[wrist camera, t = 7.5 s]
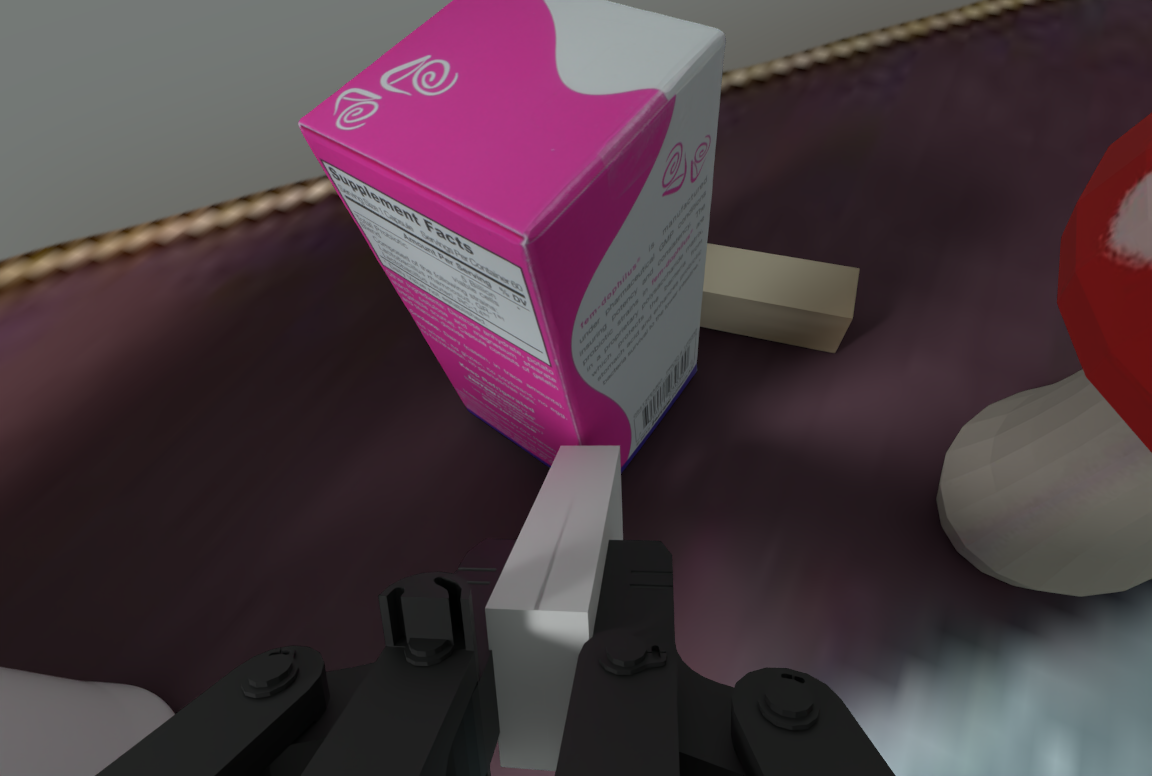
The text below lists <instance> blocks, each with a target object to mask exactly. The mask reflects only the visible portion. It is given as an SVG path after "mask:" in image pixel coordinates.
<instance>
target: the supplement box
mask: <svg viewBox="0 0 1152 776" xmlns="http://www.w3.org/2000/svg"><path fill="white" fill-rule="evenodd" d="M725 44H726V38H725V34H724V33H723V32H722V31H721V30H719V29H717V28H714V27H710V26H706V25H702V24H699V23H695V22H690V21H686V20H682V19H678V18H674V17H670V16H666V15H662V14H659V13H655V12H650V11H646V10H642V9H637V8H634V7H630V6H626V5H623V4H618V3H614V2H610V1H607V0H453V1H452V2H451V3H449V4H448V5H447V6H445V7H444V8H443V9H441V10H440V11H439V12H438V13H437V14H435V15H434V16H433V17H431V18H430V19H429V20H428V21H426V22H425V23H424V24H422V25H421V26H420V27H418V28H417V29H416V30H415V31H413V32H412V33H411V34H409V35H408V36H407V37H406V38H404V39H403V40H402V41H400V42H399V43H398V44H396V45H395V46H394V47H393V48H392V49H390V50H389V51H387V52H386V53H385V54H384V55H382V56H381V57H380V58H379V59H377V60H376V61H375V62H374V63H373V64H371V65H370V66H369V67H367V68H366V69H365V70H363V71H362V72H361V73H359V74H358V75H357V76H356V77H354V78H353V79H352V80H351V81H349V82H348V83H346V84H345V85H344V86H343V87H342V88H341V89H339V90H338V91H337V92H335V93H334V94H333V95H331V96H330V97H329V98H327V99H326V100H325V101H323V102H322V103H321V104H320V105H318V106H317V107H316V108H315V109H313V110H312V111H311V112H310V113H308V114H307V115H306V116H304V117H302V118H301V119H300V121H299V122H298V125H299V127H300V130H301V132H302V133H303V135H304V137H305V139H306V141H307V142H308V144H309V146H310V148H311V149H312V151H313V153H314V154H315V156H316V158H317V160H318V161H319V163H320V164H321V166H322V168H323V170H324V171H325V173H326V175H327V176H328V178H329V180H330V181H331V183H332V185H333V186H334V188H335V190H336V192H337V193H338V195H339V197H340V198H341V200H342V201H343V203H344V205H345V206H346V208H347V210H348V211H349V213H350V215H351V216H352V218H353V220H354V221H355V223H356V224H357V226H358V228H359V229H360V231H361V233H362V234H363V236H364V238H365V239H366V241H367V243H368V245H369V246H370V248H371V250H372V251H373V253H374V255H375V256H376V258H377V260H378V262H379V263H380V265H381V266H382V268H383V270H384V271H385V273H386V275H387V276H388V278H389V279H390V281H391V283H392V285H393V286H394V288H395V290H396V291H397V293H398V295H399V296H400V298H401V299H402V301H403V303H404V304H405V306H406V308H407V309H408V311H409V312H410V314H411V316H412V317H413V319H414V321H415V322H416V324H417V326H418V328H419V329H420V331H421V333H422V335H423V336H424V338H425V340H426V341H427V343H428V344H429V346H430V348H431V350H432V351H433V353H434V355H435V356H436V358H437V360H438V361H439V363H440V364H441V366H442V368H443V370H444V371H445V373H446V375H447V376H448V378H449V380H450V381H451V383H452V385H453V386H454V388H455V390H456V391H457V393H458V395H459V396H460V398H461V400H462V402H463V403H464V405H465V406H466V408H467V410H468V411H469V412H471V413H472V414H473V415H475V416H476V417H478V418H479V419H481V420H482V421H484V422H485V423H486V424H488V425H489V426H491V427H492V428H494V429H495V430H496V431H498V432H499V433H501V434H502V435H504V436H505V437H506V438H508V439H509V440H511V441H512V442H514V443H515V444H516V445H518V446H519V447H521V448H522V449H524V450H525V451H526V452H528V453H529V454H531V455H532V456H534V457H535V458H537V459H538V460H539V461H541V462H542V463H544V464H545V465H547V466H548V467H550V468H551V466H552V463H553V461H554V459H555V457H556V455H557V453H558V451H559V448H560V446H620V462H621V473H622V472H623V471H624V469H625V468H626V467H627V466H628V464H629V463H630V461H631V460H632V459H633V457H634V456H635V455H636V454H637V452H638V451H639V450H640V449H641V447H642V446H643V444H644V443H645V442H646V440H647V439H648V438H649V436H650V435H651V433H652V432H653V431H654V429H655V428H656V427H657V425H658V424H659V423H660V421H661V420H662V419H663V417H664V416H665V415H666V413H667V412H668V411H669V409H670V408H671V406H672V405H673V404H674V402H675V401H676V399H677V398H678V397H679V395H680V394H681V393H682V391H683V390H684V388H685V387H686V386H687V384H688V383H689V381H690V380H691V379H692V377H693V376H694V375H695V373H696V372H697V356H698V341H699V329H700V317H701V305H702V293H703V283H704V274H705V262H706V250H707V240H708V229H709V219H710V207H711V198H712V185H713V171H714V160H715V148H716V138H717V127H718V116H719V106H720V94H721V83H722V72H723V61H724V50H725Z"/></svg>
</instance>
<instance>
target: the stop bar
mask: <svg viewBox="0 0 1152 776" xmlns="http://www.w3.org/2000/svg"><path fill="white" fill-rule="evenodd" d="M859 269H860V268H854V267H848V266H842V265H836V264H830V263H824V262H818V261H812V260H805V259H799V258H793V257H787V256H781V255H775V254H769V253H763V252H757V251H751V250H745V249H739V248H733V247H727V246H721V245H715V244H709V243H707V250H706V262H705V274H704V283H703V293H702V305H701V317H700V327H705V328H710V329H715V330H720V331H725V332H730V333H735V334H740V335H745V336H750V337H755V338H760V339H765V340H770V341H775V342H780V343H785V344H790V345H795V346H800V347H805V348H810V349H815V350H820V351H825V352H830V353H835V352H836V350H837V349H838V347H839V345H840V343H841V341H842V339H843V337H844V335H845V333H846V331H847V329H848V327H849V325H850V323H851V321H852V319H853V313H854V305H855V298H856V291H857V284H858V276H859Z"/></svg>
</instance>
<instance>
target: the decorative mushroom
mask: <svg viewBox="0 0 1152 776" xmlns="http://www.w3.org/2000/svg"><path fill="white" fill-rule="evenodd" d="M1057 304H1058V307H1059V309H1060V312H1061V315H1062V317H1063V320H1064V322H1065V325H1066V327H1067V330H1068V332H1069V335H1070V338H1071V340H1072V343H1073V345H1074V348H1075V350H1076V353H1077V355H1078V358H1079V361H1080V363H1081V366H1082V368H1083V369H1082V370H1080V371H1078V372H1077V373H1075V374H1073V375H1071V376H1069V377H1068V378H1065V379H1063V380H1061V381H1059V382H1057V383H1055V384H1052V385H1048V386H1044V387H1039V388H1035V389H1031V390H1026V391H1022V392H1019V393H1017V394H1015V395H1012V396H1010V397H1007V398H1005V399H1003V400H1000V401H998V402H995V403H993V404H991V405H989V406H987V407H986V408H985V409H984V410H982V411H981V412H980V413H979V414H977V415H976V416H975V417H974V418H972V419H971V420H970V421H969V422H967V423H966V424H965V425H964V426H963V427H962V429H961V430H960V432H959V433H958V435H957V436H956V438H955V440H954V441H953V443H952V444H951V446H950V448H949V449H948V451H947V452H946V456H945V460H944V464H943V468H942V472H941V477H940V482H939V488H938V493H937V498H936V501H937V506H938V511H939V516H940V522H941V526H942V528H943V530H944V531H945V533H946V535H947V536H948V538H949V539H950V541H951V543H952V544H953V546H954V548H955V549H956V551H957V552H958V553H959V554H961V555H962V556H963V557H964V558H965V559H967V560H968V561H969V562H970V563H971V564H973V565H974V566H975V567H976V568H977V569H978V570H980V571H981V572H983V573H985V574H987V575H990V576H992V577H994V578H996V579H999V580H1001V581H1003V582H1006V583H1008V584H1010V585H1012V586H1017V587H1022V588H1027V589H1032V590H1038V591H1045V592H1052V593H1059V594H1065V595H1072V596H1079V597H1082V596H1090V595H1098V594H1105V593H1113V592H1121V591H1126V590H1128V589H1130V588H1132V587H1134V586H1137V585H1139V584H1141V583H1143V582H1145V581H1148V580H1150V579H1152V113H1151V114H1149V115H1148V116H1147V117H1145V118H1144V119H1143V120H1142V121H1140V122H1139V123H1138V124H1137V125H1135V126H1134V127H1133V128H1131V129H1130V130H1129V131H1128V132H1126V133H1125V134H1124V135H1123V136H1121V137H1120V138H1119V139H1117V140H1116V141H1115V142H1114V143H1112V144H1111V145H1110V146H1109V147H1108V149H1107V151H1106V152H1105V154H1104V156H1103V158H1102V159H1101V161H1100V163H1099V165H1098V166H1097V168H1096V170H1095V172H1094V173H1093V175H1092V177H1091V179H1090V181H1089V182H1088V184H1087V186H1086V188H1085V189H1084V191H1083V193H1082V195H1081V196H1080V198H1079V200H1078V202H1077V204H1076V206H1075V208H1074V210H1073V213H1072V215H1071V217H1070V219H1069V221H1068V224H1067V226H1066V228H1065V230H1064V232H1063V235H1062V237H1061V247H1060V263H1059V279H1058V294H1057Z"/></svg>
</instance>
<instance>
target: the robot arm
mask: <svg viewBox="0 0 1152 776" xmlns="http://www.w3.org/2000/svg"><path fill="white" fill-rule="evenodd" d="M378 597H379V604H380V610H381V617H382V624H383V630H384V637H385V644H386V647H385V648H384V650H383V651H382V653H381V655H380V656H379V658H378V659H377V661H376V662H374V663H370V664H367V665H363V666H357V667H352V668H346V669H341V670H335V671H330V672H326V671H325V665H324V661H323V659H322V657H321V654H320V653H319V652H317V651H316V650H314V649H312V648H310V647H303V646H288V647H282V648H276V649H272V650H270V651H267V652H265V653H262V654H260V655H257V656H254V657H253V658H251V659H250V660H248V661H246V662H245V663H243V664H241V665H240V666H238V667H237V668H235V669H234V670H233V671H231V672H230V673H229V674H227V675H226V676H225V677H223V678H222V679H221V680H220V681H218V682H217V683H216V684H214V685H213V686H212V687H210V688H209V689H208V690H206V691H205V692H204V693H203V694H201V695H200V696H199V697H197V698H196V699H195V700H193V701H192V702H191V703H189V704H188V705H187V706H186V707H184V708H183V709H182V710H180V711H179V712H178V713H176V714H175V715H174V716H172V717H171V718H170V719H168V720H167V721H166V722H165V723H163V724H162V725H161V726H159V727H158V728H157V729H155V730H154V731H153V732H151V733H150V734H149V735H148V736H146V737H145V738H144V739H142V740H141V741H140V742H138V743H137V744H136V745H134V746H133V747H132V748H131V749H129V750H128V751H127V752H125V753H124V754H123V755H121V756H120V757H119V758H117V759H116V760H115V761H114V762H112V763H111V764H110V765H108V766H107V767H106V768H104V769H103V770H102V771H100V772H99V773H98V774H96V775H95V776H491V773H490V762H491V759H492V756H493V753H494V750H495V747H496V744H497V741H498V744H499V753H500V763H501V767H510V768H523V769H535V770H548V771H556V773H555V776H895V774H894V773H893V772H892V770H891V769H890V767H889V766H888V765H887V763H886V762H885V760H884V759H883V758H882V756H881V755H880V753H879V752H878V751H877V749H876V748H875V746H874V745H873V743H872V742H871V741H870V739H869V738H868V736H867V735H866V734H865V732H864V731H863V729H862V728H861V727H860V725H859V724H858V722H857V721H856V720H855V718H854V717H853V715H852V714H851V712H850V711H849V710H848V708H847V707H846V705H845V704H844V703H843V701H842V700H841V699H840V698H839V697H838V696H837V695H836V694H835V693H834V692H833V691H832V690H831V689H830V688H829V687H828V686H827V685H826V684H824V683H823V682H821V681H819V680H817V679H815V678H814V677H812V676H810V675H808V674H806V673H802V672H798V671H795V670H791V669H788V668H763V669H760V670H756V671H753V672H749V673H748V674H746V675H745V676H744V677H743V678H741V679H740V680H739V681H738V682H736V685H735V688H734V687H730V686H727V685H724V684H720V683H717V682H715V681H712V680H710V679H707V678H705V677H703V676H701V675H700V674H698V673H696V672H695V671H693V670H692V669H691V668H690V667H688V666H687V665H686V664H685V663H684V662H683V661H682V659H681V657H680V656H679V654H678V652H677V650H676V645H675V634H674V601H673V569H672V555H671V553H670V552H669V551H668V550H667V548H666V547H665V546H664V544H663V543H662V542H661V541H642V540H623V520H622V491H621V462H620V446H560V448H559V451H558V453H557V455H556V457H555V459H554V461H553V463H552V466H551V468H550V470H549V472H548V474H547V476H546V478H545V481H544V483H543V485H542V487H541V489H540V491H539V493H538V496H537V498H536V500H535V502H534V504H533V506H532V508H531V511H530V513H529V515H528V517H527V519H526V521H525V523H524V526H523V528H522V530H521V532H520V534H519V536H518V538H517V540H510V539H485V540H483V541H482V542H481V543H479V544H478V545H477V546H475V547H474V548H472V549H471V550H470V551H468V552H467V554H466V556H465V557H464V559H463V561H462V562H461V564H460V566H459V567H458V571H456V572H455V574H452V573H445V572H428V573H420V574H417V575H413V576H410V577H406V578H404V579H402V580H400V581H398V582H396V583H394V584H392V585H390V586H389V587H388V588H386V589H385V590H384V591H383V592H382V593H381V594H380V595H379V596H378Z"/></svg>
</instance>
